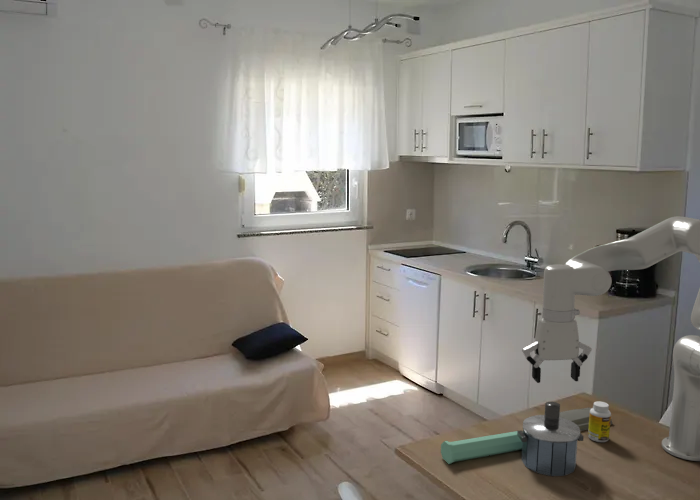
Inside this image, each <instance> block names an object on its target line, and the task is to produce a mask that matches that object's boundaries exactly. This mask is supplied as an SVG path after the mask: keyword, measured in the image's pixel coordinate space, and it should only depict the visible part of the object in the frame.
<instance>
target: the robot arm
mask: <svg viewBox="0 0 700 500" xmlns="http://www.w3.org/2000/svg"><path fill="white" fill-rule="evenodd" d="M680 252H683V253H688V254H691V255H694V256H695V257H696V259H697V260H698V262H699V263H700V219H698V218H693V217H687V216H681V215H680V216H677V215H675V216H671V217H669V218H666V219H664V220H662V221H660V222H659V223H656V224H654V225H652V226H651V227H648V228H647V229H645V230H643V231H641V232H638V233H637V234H634V235H632V236H630V237H627V238H625V239H620V240H616V241H613V242H612V241H611V242H609V243H605V244H601V245H597V246H595V247H592V248H589V249H587V250H585V251H583V252H581V253H579V254H576V255H575V256H573V257H572V258H570V259H568V260H567V261H566V262H565V264H561V263H559V264H556V263H554V264H549V265H547V266H546V267H544V271H543V288H542V290H543V291H542V313H541V314H542V315H541V316H542V317H540V318H538V321H537V325H536V330H535V336H534V342H533V343H531V344H529V345H528V346H524V348H522V350H521V352H522V354H523V355H524V357H525V359H526V360H527V361H528V362H529V364H531V366H532V367H531V368H532V369H531V376H532V379H533V380H534V381H535V382H536V383H537V384H540V383H541V377H542V376H541V375H542V373H541V371H542V369H541V367H540V365H541V364H542V363H543V362H544V361H566V360H567V361H568V360H570V361H571V360H572V362H571V365H570V377H571V379H572V380H573V381H575V382H579V377H580V376H581V367H582V366H583V363H584V362H585V361H586V360H587V359H588V357H589V355H590V354H591V352H592V350H593V349H592V348H591V347H590V345H587V344H586V343H583V342H581V341H580V338H579V329H578V321H577V320H576V316H579V315H580V314H581V312H580V311H581V310H580V309H578V308H577V309H576V308H575V307H576V306H575V302H576V296H577V295H578V296H590V297H596V296H601V295H604V294H605V293H607V292H608V291H609V289H610V288H611V286H612V280H613V279H612V277H611V274H610V272H612V271H624V270H625V271H627V270H628V271H635V270H644V269H648V268H650V267H651V266H653V265H655V264H657V263H660V262H661V261H663V260H664V259H665V260H666V259H667V258H669V257H671V256H673V255H675V254H677V253H680ZM692 307H693V308H692V310H691V314H690V323H691V325H692V326H693V327H694V328H695V329H697V330H698V331H700V287H699V289H698V292H697V295H696V298H695V301H694V304H693V306H692ZM580 349H581V350H582V352H581V353H580V354H579V352H580ZM672 350H673V351H672V361H673V362H672V363H673V374H674V379H673V380H674V381H673V389H672V390H673V392H672V393H673V394H672V399H671V400H672V401H671V411H670V412H671V413H670V420H669V421H670V422H669V431H668V432H669V433H668V436H667V437H664V438H663V439H662V440H661V448H662V449H663V450H664V451H665V452H667V453H668V454H670V455H672V456H673V457H677V458H680V459H682V460H686V461H692V462H693V461H694V462H700V335H695V334H689V335H685V336H682V337H680V338H679V339H678V340H677V341H676V343H674V346H673V349H672ZM532 352H534V354H535V356H534V357H532V356H531V353H532Z"/></svg>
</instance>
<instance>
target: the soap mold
mask: <svg viewBox="0 0 700 500" xmlns="http://www.w3.org/2000/svg"><path fill="white" fill-rule="evenodd" d="M591 409H592V407H584V408H575V409H570V410H565V411H564V410H563V411H560V415H559V417H561V418H564V419H567V420H570V421H572V422H573V423H575V424H576V425H577V426H578V427H579V428H580V432H583V431H587V430H588V429H589V416H590V410H591ZM611 425H613V419H612V418H611V422H610V426H611Z"/></svg>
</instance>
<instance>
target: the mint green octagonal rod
mask: <svg viewBox="0 0 700 500" xmlns="http://www.w3.org/2000/svg"><path fill="white" fill-rule="evenodd" d="M517 431H518V430H516V431H510V432H503V433H497V434H490V435H485V436H479V437H472V438H468V439H467V438H466V439H461V440H455V441H448V440H444V441H443V442H442V443H441V445H440V454H441V457H442V460H443V459H444V460H445V461H446V462H447V463H448V465H452V463H455V462H460V461H467V460H472V459H473V460H474V459H477V458H483V457H488V456H489V455H490V456H495V455H499V454H506V453H510V452H515V451H522V444H523V442H522V441H521V440H520V438H519V437H518V435H517ZM444 460H443V461H444ZM445 461H444V462H445ZM446 462H445V463H446ZM447 463H446V464H447Z"/></svg>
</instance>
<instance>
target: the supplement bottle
mask: <svg viewBox="0 0 700 500" xmlns="http://www.w3.org/2000/svg"><path fill="white" fill-rule="evenodd" d="M609 409H610V405H609V404H608V403H607V402H605V401H594V402H593V405H592V407H591V410H590V416H589V429H588V432H587V437H588V439H590V440H591V441H593V442H597V443H606V442H608V441H609V440H610V431H611V425H610V422H611V419H612V413H611V411H610V410H609Z"/></svg>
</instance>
